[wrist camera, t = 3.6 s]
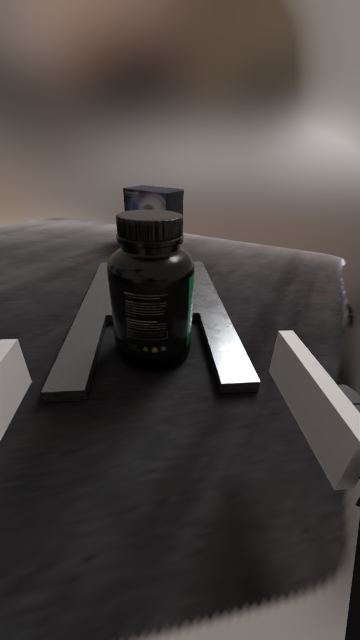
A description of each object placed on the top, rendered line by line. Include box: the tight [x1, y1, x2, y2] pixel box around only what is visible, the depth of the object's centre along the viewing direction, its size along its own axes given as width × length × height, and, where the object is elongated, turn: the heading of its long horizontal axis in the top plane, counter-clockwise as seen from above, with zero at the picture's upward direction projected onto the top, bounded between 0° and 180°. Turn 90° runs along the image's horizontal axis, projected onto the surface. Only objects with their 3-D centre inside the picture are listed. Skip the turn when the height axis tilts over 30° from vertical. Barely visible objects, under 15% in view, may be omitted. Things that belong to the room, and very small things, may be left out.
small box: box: [123, 185, 184, 244], centre depth 56 cm, size 11×6×10 cm, turn 57°
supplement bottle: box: [107, 210, 194, 371], centre depth 23 cm, size 7×7×12 cm
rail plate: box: [41, 262, 260, 402], centre depth 33 cm, size 28×16×1 cm, turn 5°
